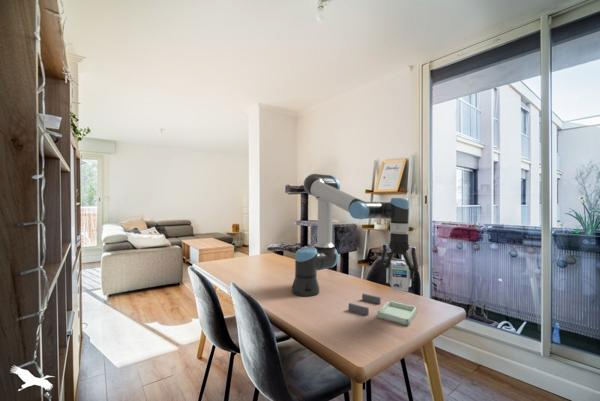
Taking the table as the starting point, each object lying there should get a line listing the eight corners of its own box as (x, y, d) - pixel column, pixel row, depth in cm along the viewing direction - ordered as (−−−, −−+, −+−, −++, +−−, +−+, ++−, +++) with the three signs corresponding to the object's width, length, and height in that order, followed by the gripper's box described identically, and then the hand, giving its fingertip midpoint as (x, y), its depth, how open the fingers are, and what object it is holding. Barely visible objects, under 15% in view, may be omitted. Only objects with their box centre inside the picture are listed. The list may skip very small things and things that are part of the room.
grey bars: (348, 310, 122) (348, 303, 122) (363, 299, 136) (363, 293, 136) (367, 315, 117) (367, 308, 117) (380, 303, 131) (380, 297, 131)
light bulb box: (408, 292, 112) (409, 266, 112) (391, 290, 113) (392, 265, 113) (404, 284, 122) (405, 260, 122) (389, 283, 124) (389, 259, 124)
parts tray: (377, 317, 115) (377, 311, 115) (389, 305, 128) (389, 300, 128) (408, 326, 107) (408, 319, 108) (417, 312, 121) (417, 306, 121)
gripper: (372, 231, 121) (372, 281, 121) (423, 235, 109) (422, 291, 109) (378, 230, 127) (377, 278, 127) (427, 234, 115) (426, 286, 115)
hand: (398, 284), depth 118 cm, fingers closed on light bulb box, 8 cm apart
